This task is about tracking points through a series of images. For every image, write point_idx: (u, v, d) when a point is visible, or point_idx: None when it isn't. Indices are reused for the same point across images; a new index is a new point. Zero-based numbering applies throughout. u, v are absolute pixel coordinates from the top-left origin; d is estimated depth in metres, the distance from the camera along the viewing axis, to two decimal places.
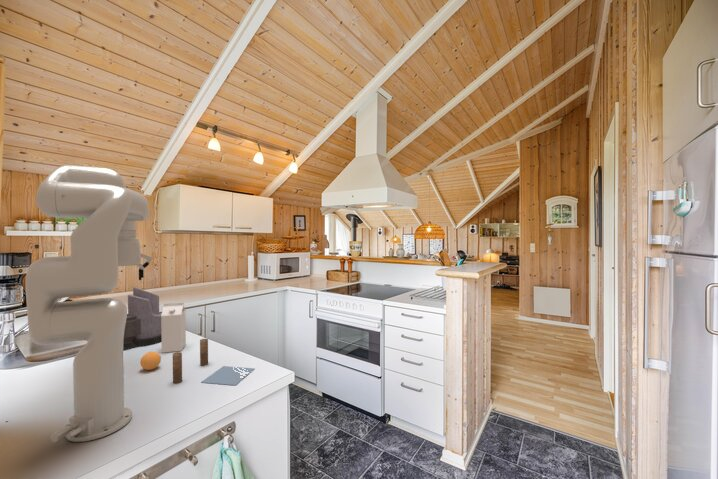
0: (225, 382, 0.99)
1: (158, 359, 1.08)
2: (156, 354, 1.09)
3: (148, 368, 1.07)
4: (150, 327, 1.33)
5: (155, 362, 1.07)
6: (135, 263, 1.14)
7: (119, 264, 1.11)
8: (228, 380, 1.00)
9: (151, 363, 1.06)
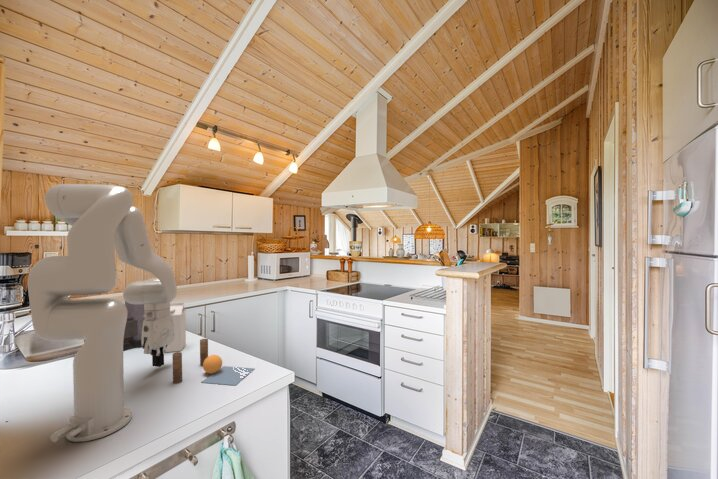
0: (225, 382, 0.99)
1: (217, 371, 1.06)
2: (220, 367, 1.06)
3: (205, 370, 1.04)
4: None
5: None
6: (172, 340, 1.11)
7: (162, 345, 1.06)
8: (228, 380, 1.00)
9: (210, 372, 1.04)
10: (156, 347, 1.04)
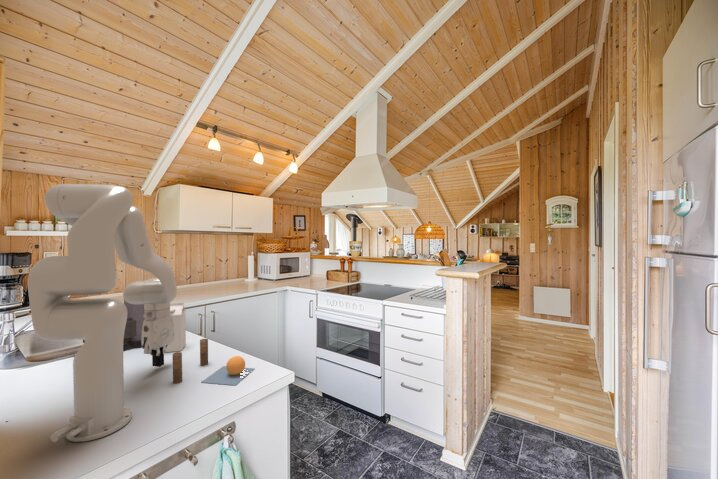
0: (225, 382, 0.99)
1: (229, 359, 1.05)
2: None
3: (234, 363, 1.02)
4: None
5: None
6: (172, 340, 1.11)
7: (162, 345, 1.06)
8: (228, 380, 1.00)
9: (228, 363, 1.03)
10: (156, 347, 1.04)
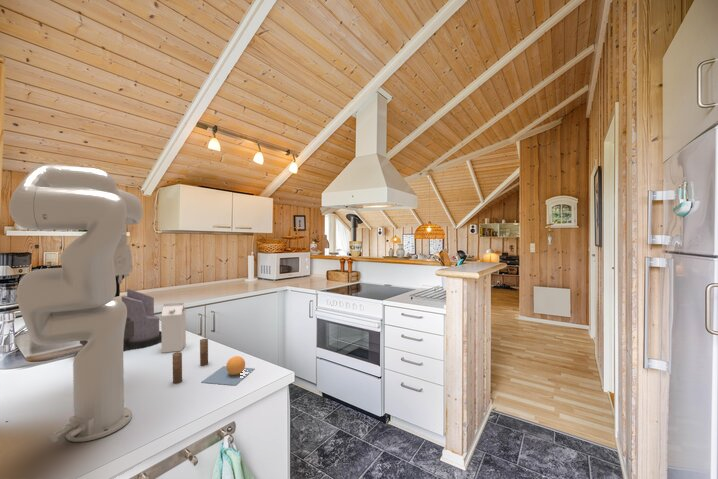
0: (225, 382, 0.99)
1: (229, 359, 1.05)
2: None
3: (234, 363, 1.02)
4: (143, 329, 1.30)
5: None
6: (129, 271, 1.04)
7: (116, 273, 0.99)
8: (228, 380, 1.00)
9: (228, 363, 1.03)
10: None
